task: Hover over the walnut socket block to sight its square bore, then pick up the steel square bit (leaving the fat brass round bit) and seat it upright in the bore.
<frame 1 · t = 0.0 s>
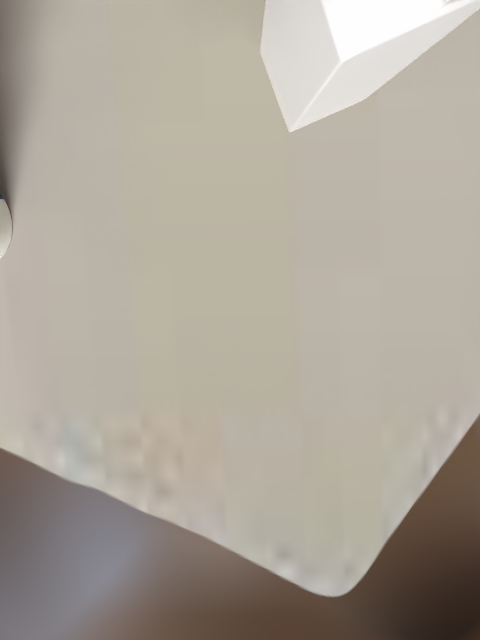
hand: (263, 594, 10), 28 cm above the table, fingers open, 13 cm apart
milk: (312, 76, 33), on the table
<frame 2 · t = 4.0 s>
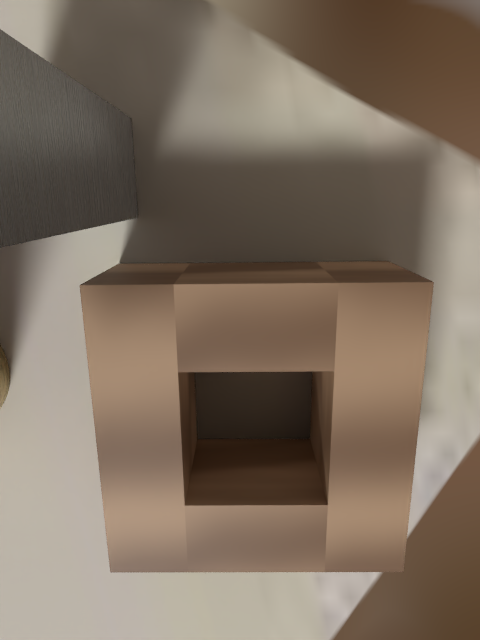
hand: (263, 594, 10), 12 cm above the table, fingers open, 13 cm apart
socket block: (253, 386, 22), on the table
square bit: (87, 169, 19), on the table
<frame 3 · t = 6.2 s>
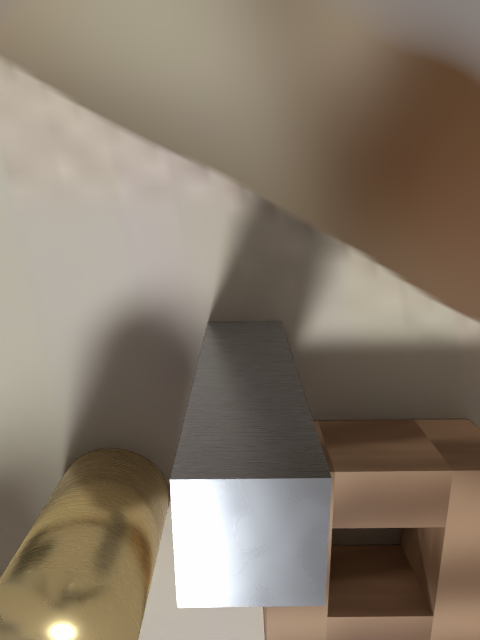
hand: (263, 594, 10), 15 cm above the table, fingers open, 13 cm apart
socket block: (359, 507, 28), on the table
square bit: (244, 356, 25), on the table
round bit: (115, 495, 28), on the table
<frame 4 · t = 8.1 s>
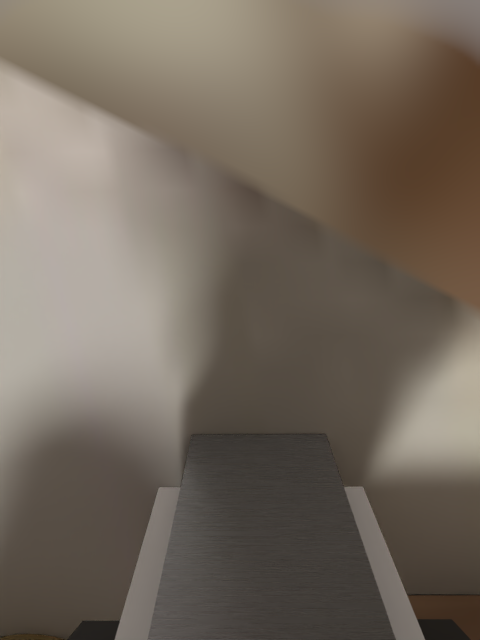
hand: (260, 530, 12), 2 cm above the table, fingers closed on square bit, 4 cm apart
square bit: (258, 492, 14), on the table, touching gripper
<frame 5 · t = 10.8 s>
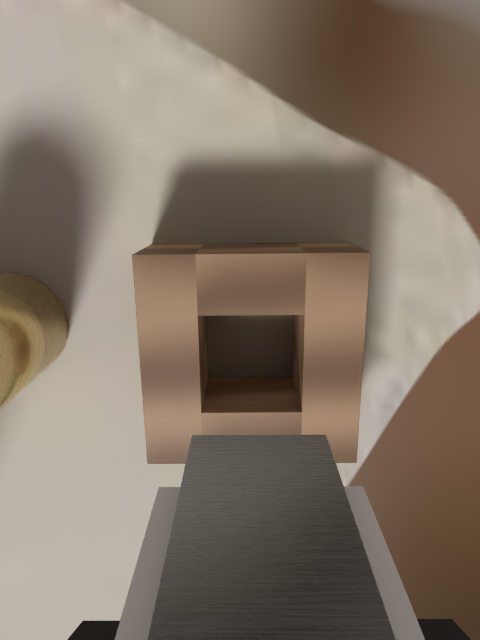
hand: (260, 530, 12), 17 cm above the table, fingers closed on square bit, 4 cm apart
socket block: (250, 337, 29), on the table
square bit: (258, 492, 14), point 16 cm above the table, touching gripper
round bit: (17, 324, 29), on the table
when the fingers open (6 cm above the table, at t = 13.4 s): square bit drops 4 cm, resting in socket block.
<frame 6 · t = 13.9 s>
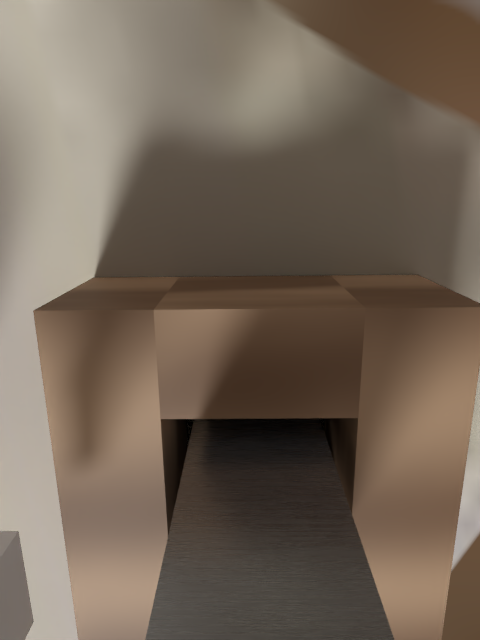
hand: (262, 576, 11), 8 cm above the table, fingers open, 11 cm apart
socket block: (255, 422, 18), on the table
square bit: (254, 421, 18), resting in socket block
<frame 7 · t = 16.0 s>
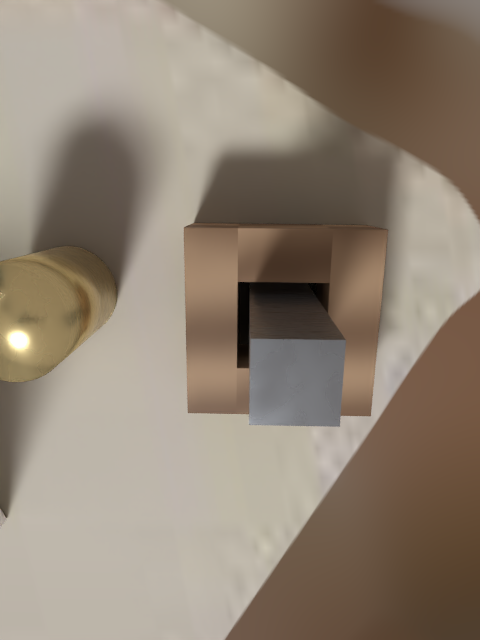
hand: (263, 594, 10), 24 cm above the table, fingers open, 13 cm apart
socket block: (277, 308, 33), on the table
square bit: (276, 307, 33), resting in socket block
round bit: (71, 291, 33), on the table
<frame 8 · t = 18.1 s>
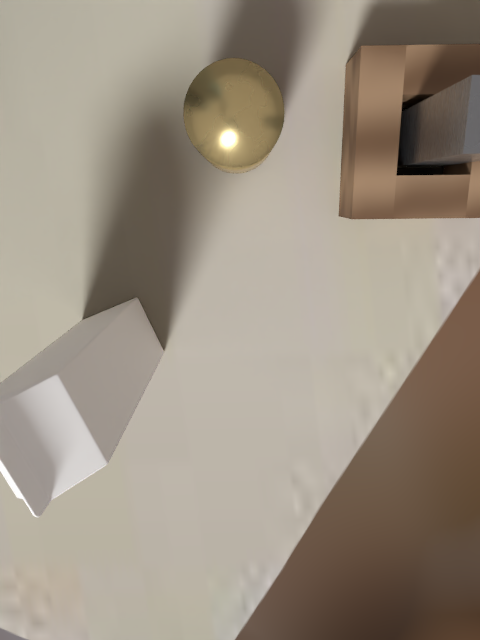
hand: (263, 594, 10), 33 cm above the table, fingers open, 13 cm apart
milk: (124, 335, 43), on the table
socket block: (413, 142, 38), on the table
square bit: (412, 142, 38), resting in socket block
round bit: (236, 132, 38), on the table
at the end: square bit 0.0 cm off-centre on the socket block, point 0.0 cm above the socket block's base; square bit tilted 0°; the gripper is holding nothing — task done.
